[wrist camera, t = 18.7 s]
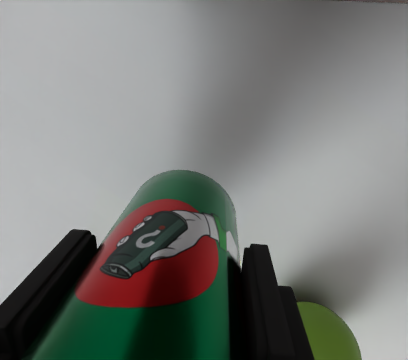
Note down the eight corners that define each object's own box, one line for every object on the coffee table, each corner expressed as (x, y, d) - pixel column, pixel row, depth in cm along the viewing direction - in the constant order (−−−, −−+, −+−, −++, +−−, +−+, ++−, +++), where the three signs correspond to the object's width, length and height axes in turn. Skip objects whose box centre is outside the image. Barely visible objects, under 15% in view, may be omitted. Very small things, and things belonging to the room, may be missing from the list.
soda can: (113, 204, 14) (-326, 750, 3) (191, 144, 12) (-61, 753, 1) (179, 270, 15) (59, 823, 4) (255, 222, 14) (397, 867, 3)
